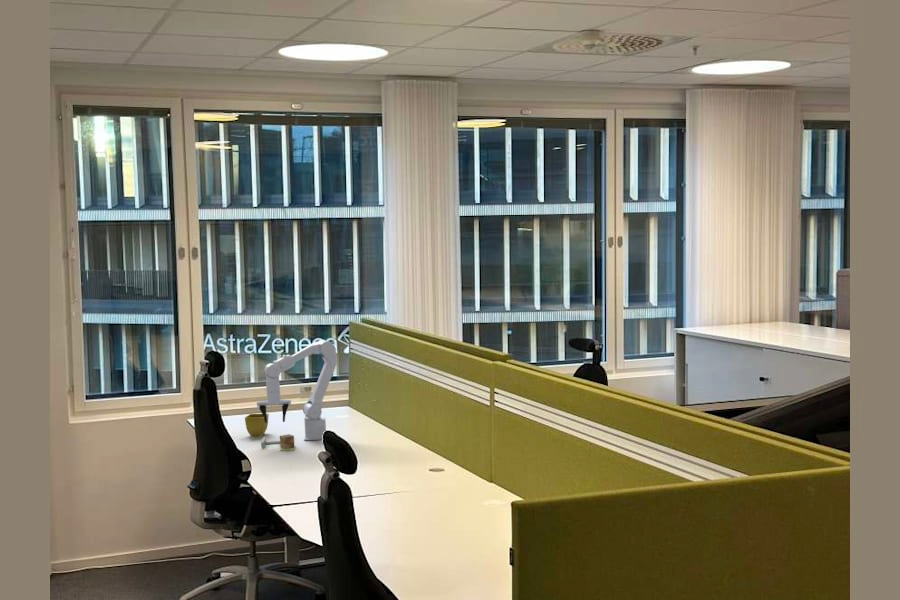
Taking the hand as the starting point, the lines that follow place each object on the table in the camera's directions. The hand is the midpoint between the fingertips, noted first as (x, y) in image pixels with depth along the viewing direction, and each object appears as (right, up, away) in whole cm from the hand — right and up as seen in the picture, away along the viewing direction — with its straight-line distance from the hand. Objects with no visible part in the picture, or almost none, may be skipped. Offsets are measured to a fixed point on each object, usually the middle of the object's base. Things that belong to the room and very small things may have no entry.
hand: (275, 421), depth 402 cm
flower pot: (-11, -9, +19) cm, 24 cm away
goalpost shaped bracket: (0, -10, -2) cm, 10 cm away
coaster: (+7, -10, -10) cm, 16 cm away
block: (+7, -10, -10) cm, 15 cm away
